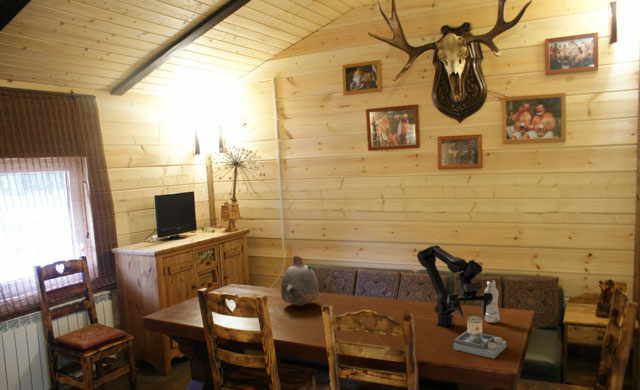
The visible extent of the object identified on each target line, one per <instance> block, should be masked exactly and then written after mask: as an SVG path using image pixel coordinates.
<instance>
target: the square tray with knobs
mask: <svg viewBox="0 0 640 390" xmlns="http://www.w3.org/2000/svg"><path fill="white" fill-rule="evenodd" d="M482 335H483V342H482V343H472V342H469V341H468V330H467V329H466V330H465V331H464V332H462V334H460V335H459V336H457V337H455V338H454V343H453V350H456V351H458V352H459V351H460V352H463V353H468V354H471V355H477V356H480V357H481V356H482V357H484V358H489V359H495V358H497V357H498V356H499V354H500V353H502V352H503V351H504V350H506V348H507V341H506V340H503V338H502V337H500V336H496V335H491V334H487V333H482Z"/></svg>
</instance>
